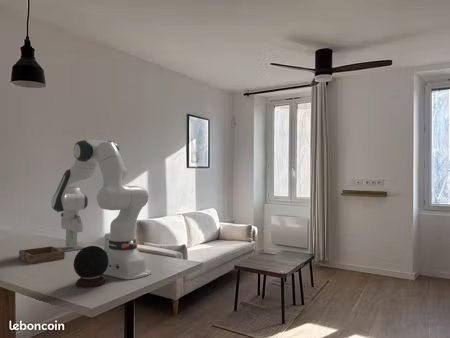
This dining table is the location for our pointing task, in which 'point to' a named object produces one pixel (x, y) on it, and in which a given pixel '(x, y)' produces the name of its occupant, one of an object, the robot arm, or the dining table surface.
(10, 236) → the dining table surface
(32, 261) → the walnut crate
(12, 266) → the dining table surface
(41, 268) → the dining table surface
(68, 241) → the green block
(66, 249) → the rubber mat
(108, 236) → the small box
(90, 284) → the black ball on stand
